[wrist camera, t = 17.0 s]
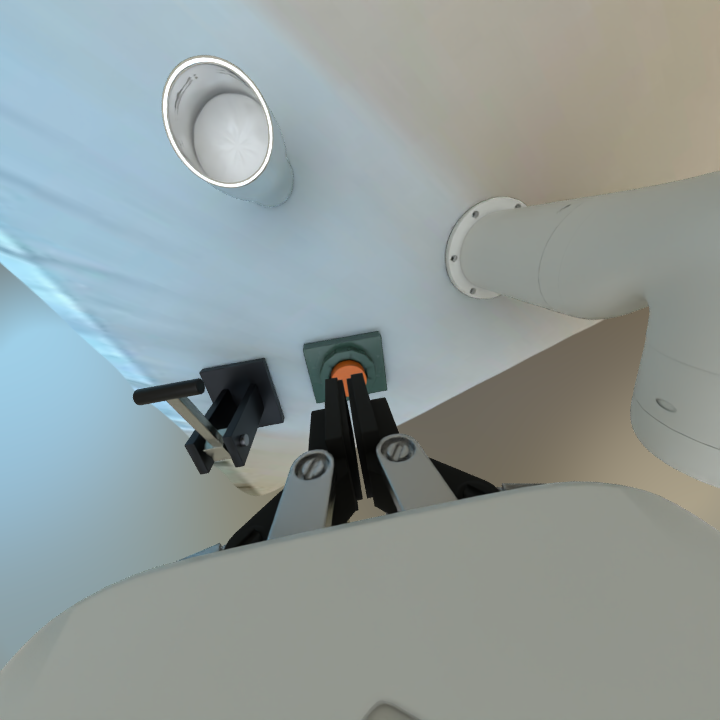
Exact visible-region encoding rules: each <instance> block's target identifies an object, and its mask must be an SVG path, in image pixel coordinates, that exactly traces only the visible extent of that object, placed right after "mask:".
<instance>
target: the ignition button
mask: <svg viewBox="0 0 720 720" xmlns="http://www.w3.org/2000/svg"><path fill="white" fill-rule="evenodd" d="M357 373H363V377H364V380H365V384H366V383H367V378H366V374H365V371H364V368H363V367H362V366H361V365H360V364H359V363H357V362H355V361H351V360H346V361H342V362H340V363H338V364H337V365H336V366H335V367H334V368H333V370H332V373H331V378H336V377H337V378H338V380H343V384H344V389H345V394H346V396H347V397H349V393H348V387H347V380H346V379H348V378H351V375H352V374H357Z"/></svg>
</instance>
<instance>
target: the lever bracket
mask: <svg viewBox="0 0 720 720" xmlns="http://www.w3.org/2000/svg"><path fill="white" fill-rule="evenodd" d="M200 376H201V378H202V380H203V382H204V384H205V387H206V389H207V391H208V393H209V395H210V398H211V400H212V402H213V404H212V406H211V407H210V409H209V410H208V412H207V413H206V414H205V417H206V419H207V420H208V421H209V422H210V423H211V424H212V425H213V426H214V427H215V428H216V430H220V429H225V428H227V430H226V432H225V434H224V435H223V437H222V439H223V441H224V443H225V446H226V448H227V450H228V452H229V454H230V456H231V458H232V460H233V463H234V465H235V467H241V466H244V465H245V462H246V459H247V456H248V454H249V451H250V448H251V445H252V442H253V440H254V437H255V434H256V431H257V428H258V427H263V426H268V425H274V424H279V423H283V422H284V416H283V413H282V410H281V407H280V403H279V400H278V397H277V394H276V391H275V388H274V385H273V382H272V379H271V376H270V373H269V370H268V367H267V364H266V361H265V358H262V359H256V360H251V361H245V362H240V363H234V364H229V365H223V366H217V367H212V368H206V369H202V370H201V371H200ZM205 442H206V440H205V439H204V438H203V437H202V436H201V435H200V434H199V433H198V432H197V431H196V430H195V431H194V432H193V434H192V435H191V437H190V438H189V440H188V441H187V442H186V444H185V447H186V449H187V451H188V453H189V455H190V456H191V458H192V460H193V462H194V464H195V465H196V467H197V469H198V471H199V473H200V474H205V473H209V472H210V470H211V467H212V466H213V464H214V462H215V461H214V460H213V459H212V458H211V457H209V456H208V455H207V454H206V453H205V452H204V451H203V449H204V445H205Z"/></svg>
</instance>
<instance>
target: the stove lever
mask: <svg viewBox="0 0 720 720" xmlns="http://www.w3.org/2000/svg"><path fill="white" fill-rule="evenodd" d="M204 390H205V385H204V382H203V381H202V380H201V379H199V378H198V379H193V380H187V381H182V382H176V383H171V384H165V385H160V386H154V387H149V388H143V389H138V390H136V391H135V392H134V394H133V400H134V402H135V403H136V404H137V405H144V404H150V403H155V402H161V401H167V402H168V403H169V404H170V405H171V406H172V407H173V408H174V409H175V410H176V411H177V412H178V413H179V414H180V415H181V416H182V417H183V418H184V419H185V420H186V421H187V422H188V423H189V424H190V425H191V426H192V427H193V428H194V429H195V430H196V431H197V432H198V433H199V434H200V435H201V436H202V437H203V438H204V439H205V440H206V442H205V445H204V449H203V451H204V452H205V453H206V454H207V455H208V456H209V457H211V458H212V459H213V460H214V461H220V460H225V459H231V456H230V454H229V452H228V450H227V448H226V446H225V443H224V441H223V439H222V437H223V435H224V434H225V432H226V430H227V428H225V429H220V430H216V428H215V427H214V426H213V425H212V424H211V423H210V422H209V421H208V420H207V419H206V417H205V416H204V415H203V414H202V413H201V412H200V411H199V410H198V409H197V407H196V406H195V405H194V404H193V403H192V402H191V401H190V400H189V399H188V398H187V397H188V396H193V395H199V394H202V393H204Z"/></svg>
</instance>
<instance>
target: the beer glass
mask: <svg viewBox="0 0 720 720" xmlns="http://www.w3.org/2000/svg"><path fill="white" fill-rule="evenodd" d="M161 109H162V118H163V124H164V128H165V131H166V134H167V137H168V139H169V141H170V144H171V145H172V147H173V149H174V151H175V153H176V154H177V156H178V157H179V158H180V160H181V161H182V162H183V163H184V165H185V166H186V167H187V168H188V169H189V170H190V171H191V172H193V173H194V174H195V175H196V176H198V177H199V178H201V179H202V180H204V181H206V182H207V183H208V184H210V185H211V186H213V187H214V188H215V189H217V190H219V191H221V192H222V193H224V194H226V195H228V196H231V197H233V198H236V199H240V200H244V201H253V202H255V203H256V204H258V205H261V206H264V207H275V206H279V205H281V204H282V203H284V202H285V201H286V200H287V199H288V197H289V196H290V194H291V192H292V189H293V183H294V177H293V171H292V168H291V165H290V163H289V161H288V159H287V153H286V146H285V142H284V139H283V136H282V132H281V130H280V127H279V125H278V123H277V121H276V119H275V117H274V115H273V113H272V111H271V109H270V108H269V106H268V105H267V103H266V101H265V100H264V98H263V96H262V94H261V92H260V91H259V89H258V88H257V86H256V85H255V84H254V82H253V81H252V80H251V79H250V78H249V77H248V76H247V75H246V74H245V73H244V72H243V71H242V70H241V69H239V68H238V67H237V66H235V65H234V64H232V63H230V62H229V61H227V60H224V59H222V58H219V57H215V56H210V55H199V56H193V57H190V58H188V59H186V60H184V61H182V62H181V63H179V64H178V65H177V66H176V67H175V68H174V69H173V70H172V72H171V73H170V75H169V76H168V78H167V80H166V83H165V86H164V89H163V94H162V103H161Z"/></svg>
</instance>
